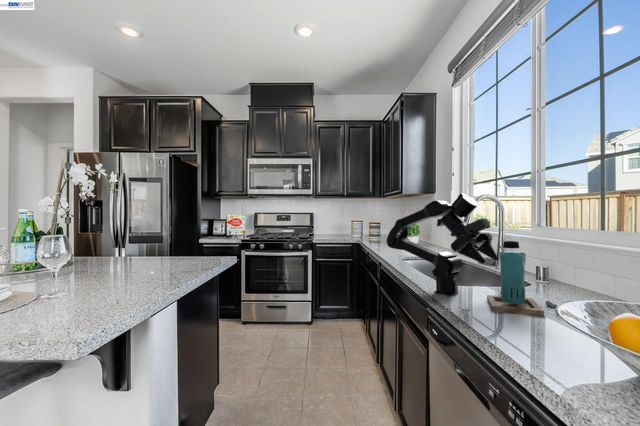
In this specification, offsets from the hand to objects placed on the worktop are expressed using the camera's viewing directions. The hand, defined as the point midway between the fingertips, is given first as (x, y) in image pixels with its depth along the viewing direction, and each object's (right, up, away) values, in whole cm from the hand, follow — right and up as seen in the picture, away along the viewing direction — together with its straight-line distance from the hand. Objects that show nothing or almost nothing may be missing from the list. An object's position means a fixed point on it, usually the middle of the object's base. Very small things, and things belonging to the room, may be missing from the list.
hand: (491, 261), depth 93 cm
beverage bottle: (+4, -13, -5) cm, 15 cm away
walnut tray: (+4, -13, -5) cm, 15 cm away
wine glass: (+12, -14, +7) cm, 20 cm away
